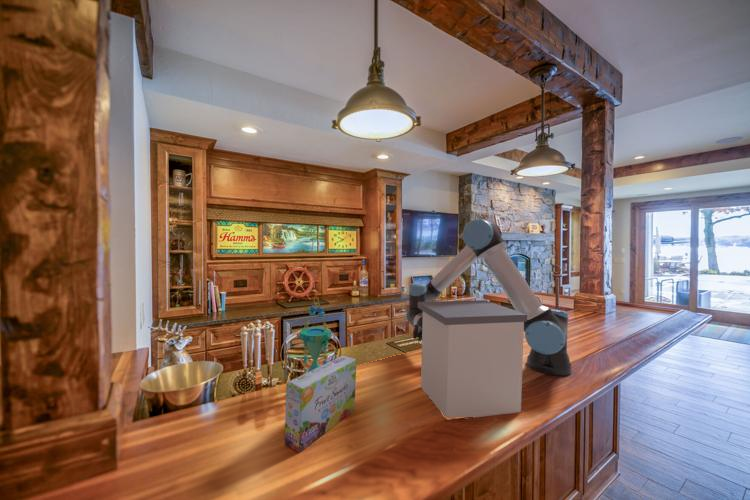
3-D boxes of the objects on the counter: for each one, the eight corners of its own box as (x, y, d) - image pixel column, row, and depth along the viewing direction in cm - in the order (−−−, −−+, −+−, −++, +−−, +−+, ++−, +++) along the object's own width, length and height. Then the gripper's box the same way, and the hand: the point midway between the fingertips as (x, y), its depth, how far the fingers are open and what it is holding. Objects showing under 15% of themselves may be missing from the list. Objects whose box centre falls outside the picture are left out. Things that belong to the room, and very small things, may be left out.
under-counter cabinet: (482, 378, 106) (485, 300, 105) (523, 411, 85) (527, 314, 85) (415, 384, 101) (417, 301, 100) (442, 421, 80) (445, 317, 79)
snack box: (300, 455, 66) (301, 388, 66) (283, 445, 69) (284, 381, 69) (356, 410, 84) (357, 357, 84) (340, 404, 87) (341, 353, 87)
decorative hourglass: (338, 385, 99) (339, 295, 98) (318, 401, 89) (320, 301, 88) (311, 378, 103) (312, 292, 102) (289, 392, 93) (291, 297, 93)
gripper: (452, 331, 129) (479, 349, 108) (396, 334, 123) (414, 353, 102) (452, 314, 128) (480, 328, 108) (397, 316, 123) (414, 331, 102)
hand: (448, 340), depth 105 cm, fingers open, 13 cm apart
